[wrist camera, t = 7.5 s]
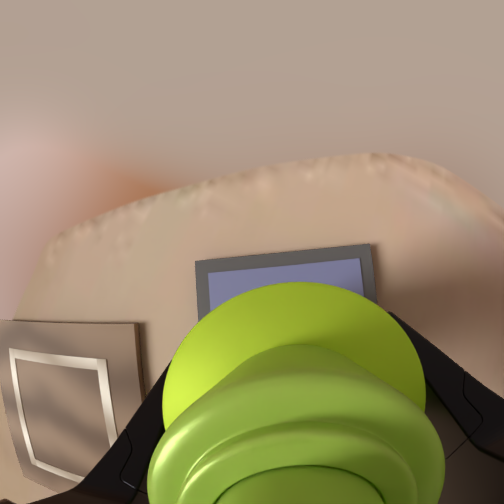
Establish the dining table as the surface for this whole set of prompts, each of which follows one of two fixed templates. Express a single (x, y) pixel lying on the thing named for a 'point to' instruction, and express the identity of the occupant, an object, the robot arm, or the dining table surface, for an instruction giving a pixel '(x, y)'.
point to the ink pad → (284, 273)
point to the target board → (68, 394)
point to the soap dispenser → (296, 406)
